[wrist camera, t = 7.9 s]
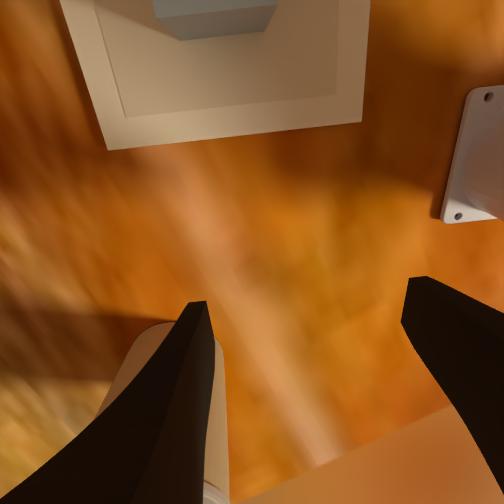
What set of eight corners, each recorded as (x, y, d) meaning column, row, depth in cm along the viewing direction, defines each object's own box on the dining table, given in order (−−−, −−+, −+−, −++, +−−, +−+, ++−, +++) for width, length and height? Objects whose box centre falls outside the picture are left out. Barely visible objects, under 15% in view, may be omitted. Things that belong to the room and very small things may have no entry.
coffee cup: (99, 330, 23) (-12, 526, 13) (211, 300, 23) (191, 484, 12) (151, 400, 28) (100, 590, 17) (246, 378, 27) (254, 562, 16)
